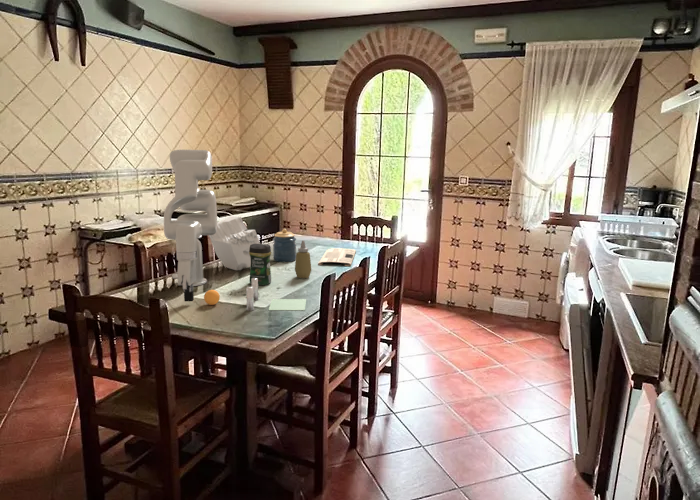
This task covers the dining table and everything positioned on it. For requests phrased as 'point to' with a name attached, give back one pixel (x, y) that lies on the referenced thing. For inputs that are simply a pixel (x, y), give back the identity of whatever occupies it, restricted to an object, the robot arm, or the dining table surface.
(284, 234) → the canister
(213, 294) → the ball
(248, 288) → the post
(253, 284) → the post
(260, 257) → the coffee jar
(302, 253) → the squeeze bottle
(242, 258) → the white lumpy block
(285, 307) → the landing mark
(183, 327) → the dining table surface
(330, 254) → the newspaper
